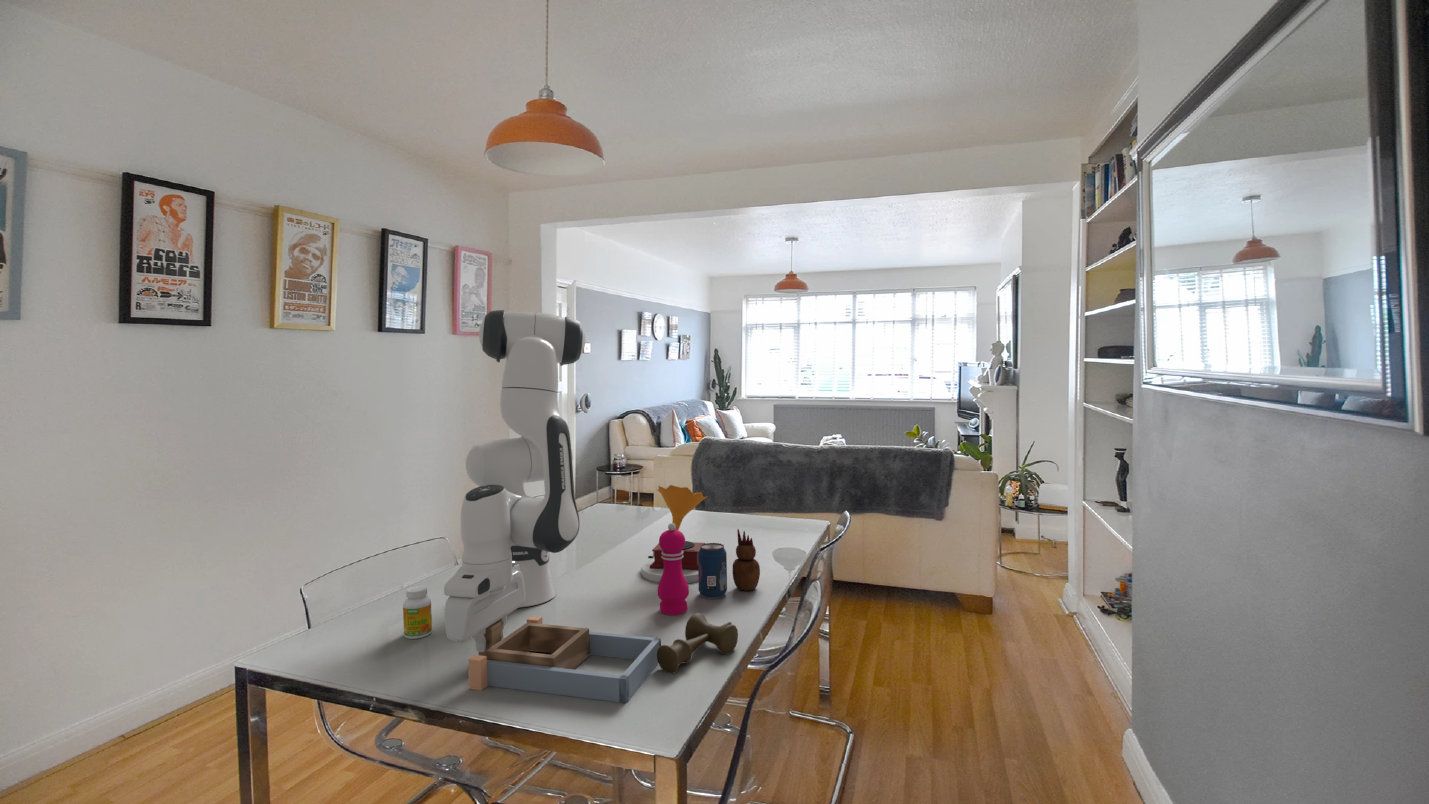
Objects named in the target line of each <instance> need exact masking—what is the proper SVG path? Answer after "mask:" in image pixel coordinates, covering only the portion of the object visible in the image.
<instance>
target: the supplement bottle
mask: <svg viewBox="0 0 1429 804" xmlns="http://www.w3.org/2000/svg"><path fill="white" fill-rule="evenodd" d="M405 595H406V599H405V600H404V601H403V603H402V612H403V614H402V616H403V618H402V619H403V636H404V637H405V638H406V639H408V640H418V639H421V638H426V637H427V636H430V635H431V634H432V633H433V617H432V599H431V598H430V597H429V596H428V587H427V586H425V585H415V586H411V587H409V588H407V589H406V590H405Z"/></svg>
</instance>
